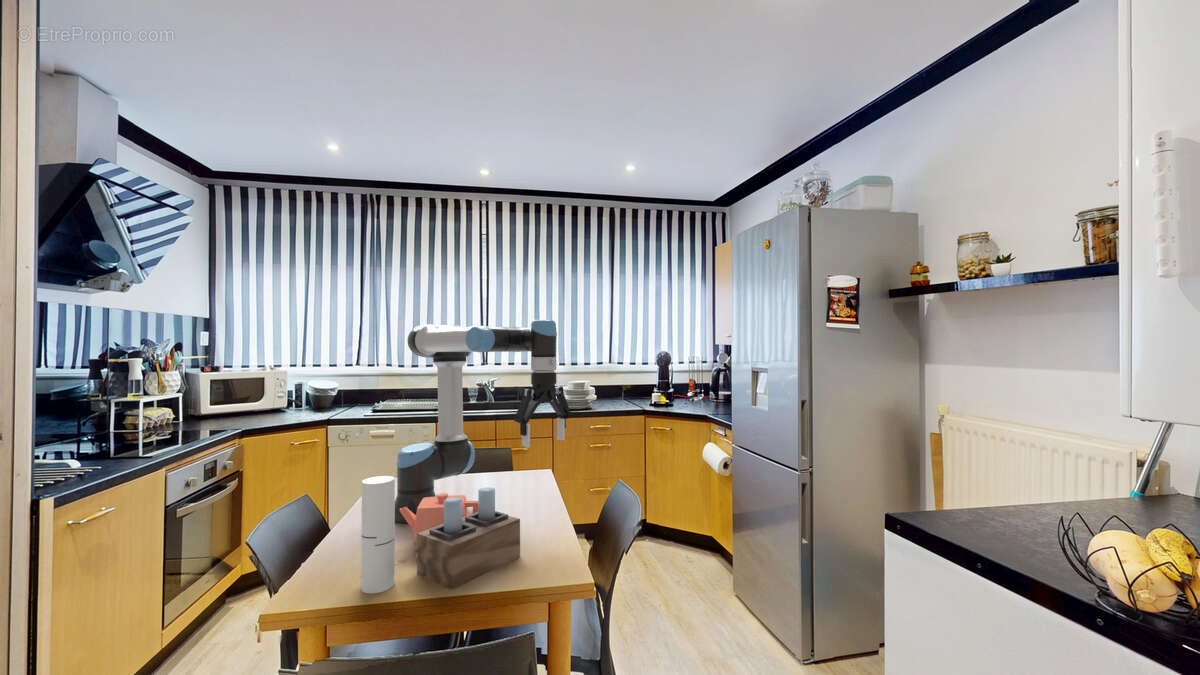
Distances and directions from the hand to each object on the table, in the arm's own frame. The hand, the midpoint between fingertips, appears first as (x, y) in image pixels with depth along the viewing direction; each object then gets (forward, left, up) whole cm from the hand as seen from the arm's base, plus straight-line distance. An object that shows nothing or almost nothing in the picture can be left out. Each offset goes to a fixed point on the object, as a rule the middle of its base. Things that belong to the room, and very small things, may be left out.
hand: (543, 443), depth 144 cm
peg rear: (-4, -19, -19) cm, 27 cm away
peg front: (-4, -30, -19) cm, 36 cm away
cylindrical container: (-13, -44, -28) cm, 54 cm away
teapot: (-22, -20, -28) cm, 41 cm away
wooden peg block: (-4, -24, -28) cm, 37 cm away
